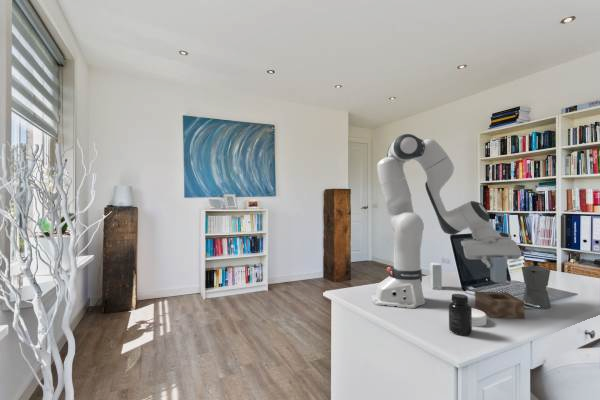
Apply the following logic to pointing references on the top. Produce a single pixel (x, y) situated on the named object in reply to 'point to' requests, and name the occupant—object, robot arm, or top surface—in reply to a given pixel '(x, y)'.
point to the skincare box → (435, 276)
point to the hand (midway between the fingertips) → (498, 267)
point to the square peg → (498, 270)
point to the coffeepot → (536, 285)
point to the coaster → (478, 317)
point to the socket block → (499, 305)
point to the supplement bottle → (460, 315)
